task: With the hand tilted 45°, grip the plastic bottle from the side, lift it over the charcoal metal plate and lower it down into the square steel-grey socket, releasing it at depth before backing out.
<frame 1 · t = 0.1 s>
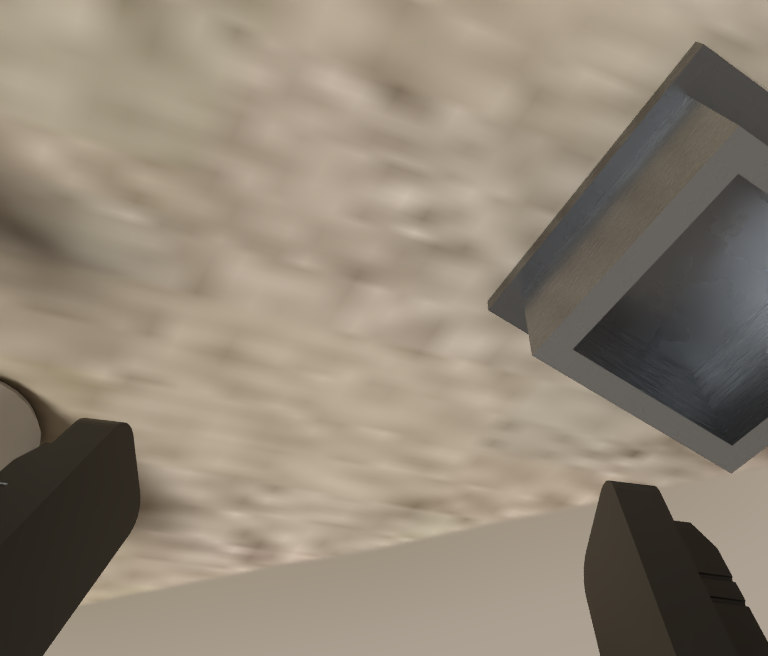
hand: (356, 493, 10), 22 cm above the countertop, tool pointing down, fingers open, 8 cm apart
rack socket: (682, 256, 31), on the countertop
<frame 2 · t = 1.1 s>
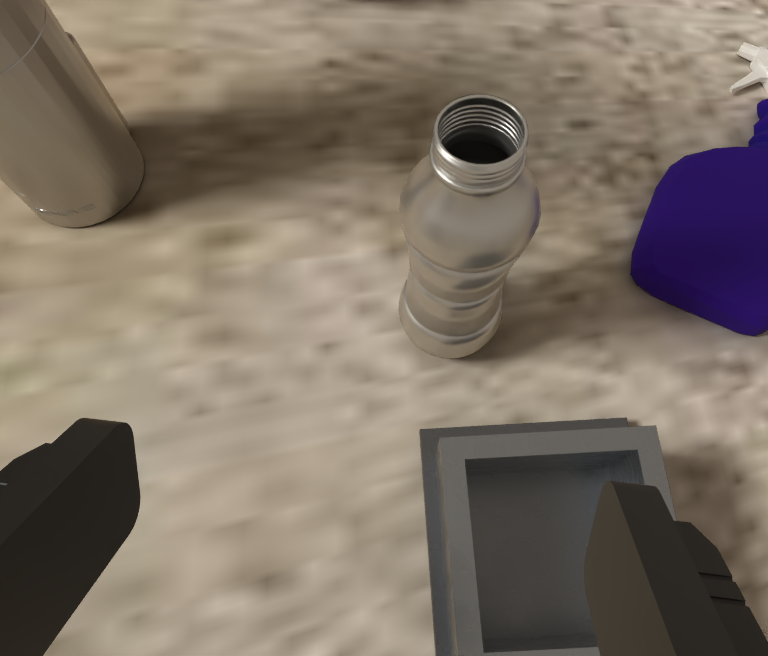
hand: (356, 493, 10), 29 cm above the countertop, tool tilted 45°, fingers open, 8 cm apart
rack socket: (536, 550, 37), on the countertop
spray bottle: (737, 185, 47), on the countertop
plastic bottle: (447, 324, 43), on the countertop
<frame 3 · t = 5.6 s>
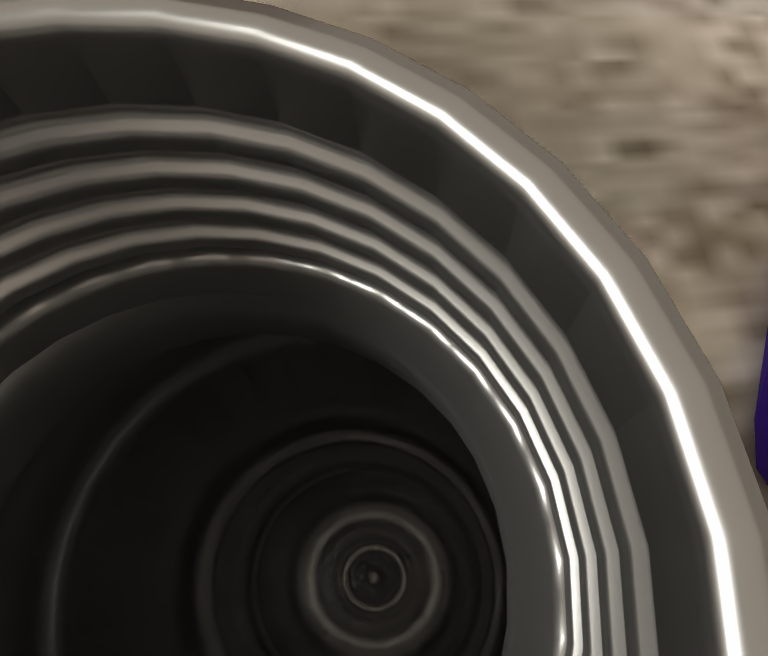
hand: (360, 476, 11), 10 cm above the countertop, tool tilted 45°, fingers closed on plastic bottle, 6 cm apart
plastic bottle: (376, 577, 20), on the countertop, touching gripper
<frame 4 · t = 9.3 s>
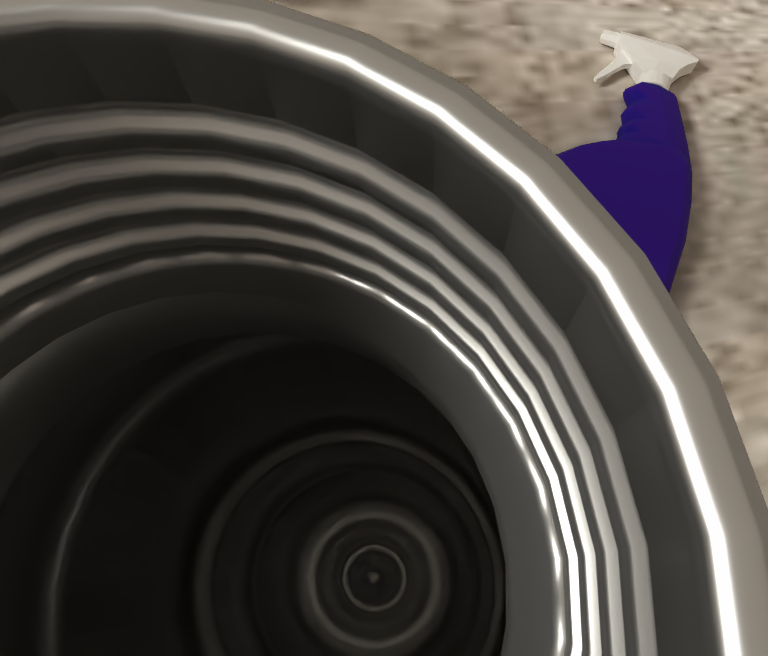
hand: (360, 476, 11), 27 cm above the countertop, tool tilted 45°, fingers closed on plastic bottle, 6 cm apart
spray bottle: (611, 179, 45), on the countertop
plastic bottle: (376, 577, 20), point 16 cm above the countertop, touching gripper
when the fingers open (13 cm above the countertop, at t = 13.3 s): plastic bottle drops 1 cm, resting on rack socket.
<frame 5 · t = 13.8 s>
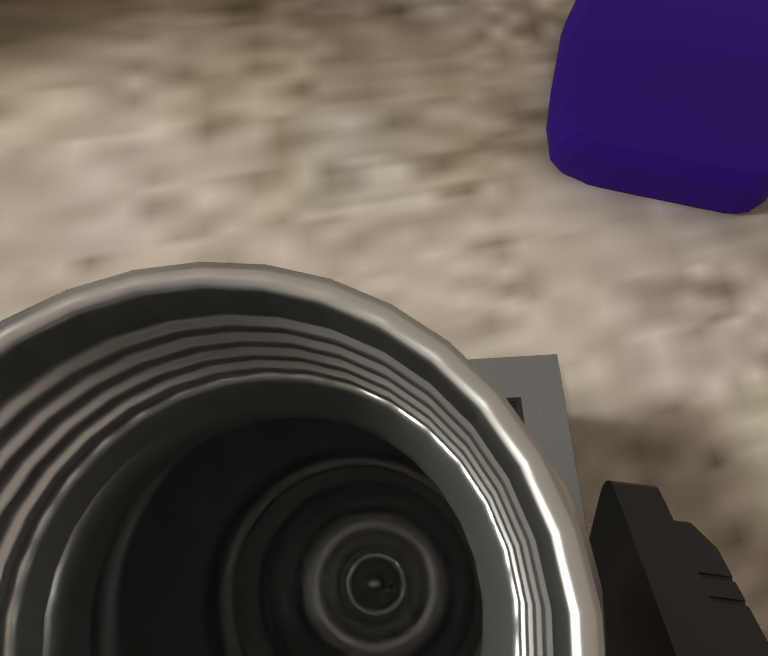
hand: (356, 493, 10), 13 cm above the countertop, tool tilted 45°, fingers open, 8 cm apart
rack socket: (379, 578, 22), on the countertop
spray bottle: (671, 17, 33), on the countertop
plastic bottle: (377, 583, 21), point 1 cm above the countertop, touching rack socket
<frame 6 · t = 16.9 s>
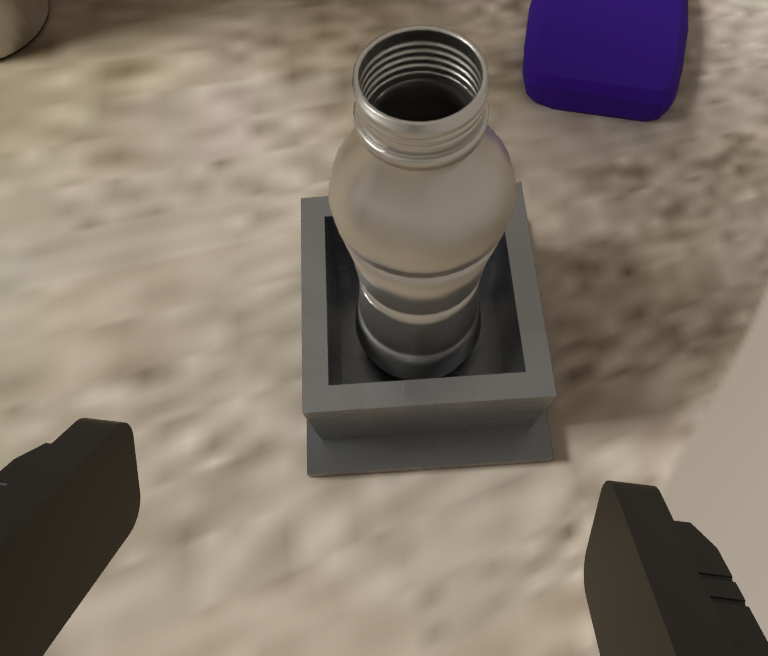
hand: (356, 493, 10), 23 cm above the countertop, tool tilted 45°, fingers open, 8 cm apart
rack socket: (418, 340, 36), on the countertop
plastic bottle: (418, 338, 35), point 1 cm above the countertop, touching rack socket
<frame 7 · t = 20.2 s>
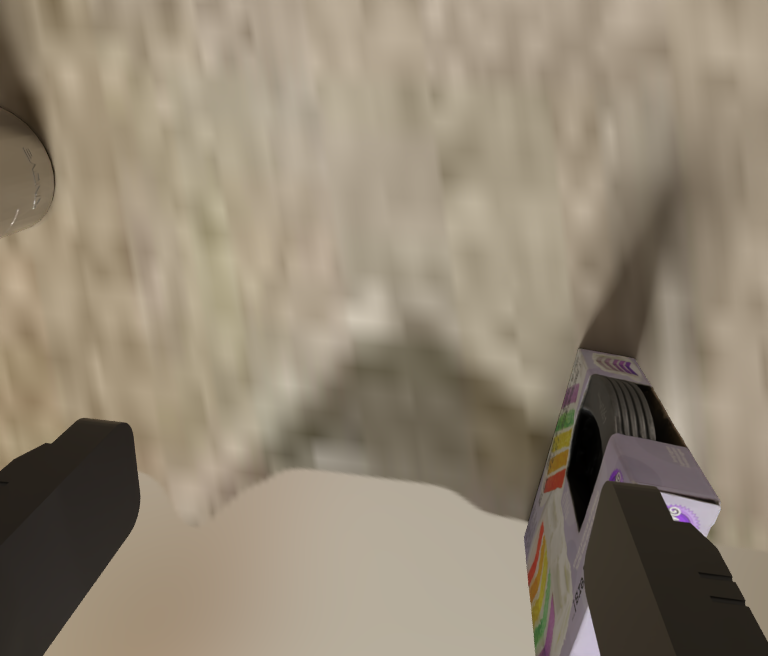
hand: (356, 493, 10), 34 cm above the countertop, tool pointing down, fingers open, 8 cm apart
cake pan box: (574, 444, 49), on the countertop
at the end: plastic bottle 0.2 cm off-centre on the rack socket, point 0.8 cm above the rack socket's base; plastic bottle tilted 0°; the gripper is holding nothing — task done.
